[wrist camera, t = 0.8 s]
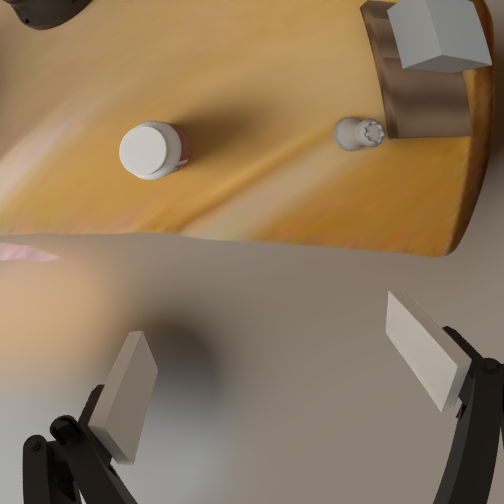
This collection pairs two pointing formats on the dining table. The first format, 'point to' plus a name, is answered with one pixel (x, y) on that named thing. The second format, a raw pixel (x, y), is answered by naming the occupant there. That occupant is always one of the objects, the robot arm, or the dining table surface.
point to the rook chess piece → (358, 133)
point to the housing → (439, 35)
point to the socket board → (414, 86)
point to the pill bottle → (154, 150)
